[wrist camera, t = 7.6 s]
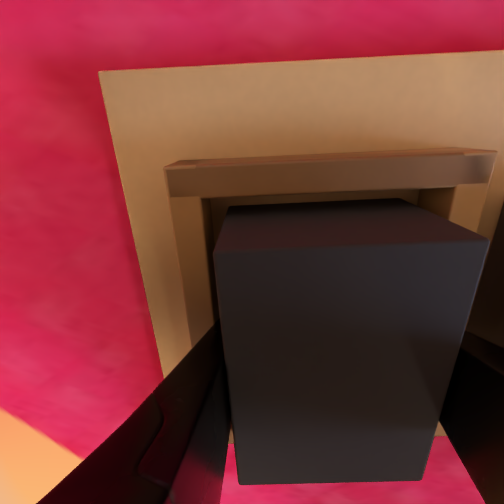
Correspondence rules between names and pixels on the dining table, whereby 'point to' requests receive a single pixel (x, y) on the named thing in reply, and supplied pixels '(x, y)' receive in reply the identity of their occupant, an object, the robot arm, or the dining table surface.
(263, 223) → the dark rectangular block
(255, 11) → the dining table surface
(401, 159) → the backing board
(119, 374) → the dining table surface
